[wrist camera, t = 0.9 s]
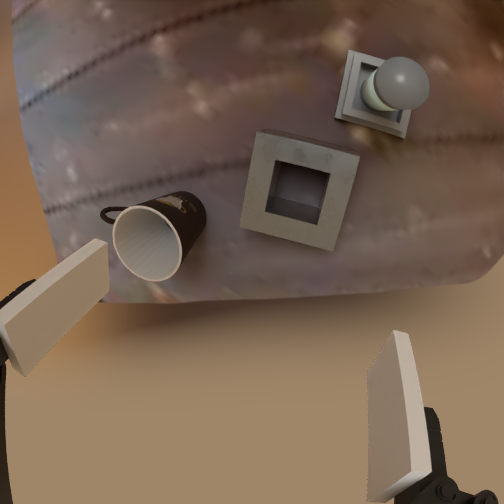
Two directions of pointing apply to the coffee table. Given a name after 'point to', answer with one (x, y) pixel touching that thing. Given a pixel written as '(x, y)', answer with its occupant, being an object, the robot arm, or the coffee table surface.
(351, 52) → the grey square open tray
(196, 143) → the coffee table surface
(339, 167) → the port block
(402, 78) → the plug
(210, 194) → the coffee table surface
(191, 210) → the coffee mug
